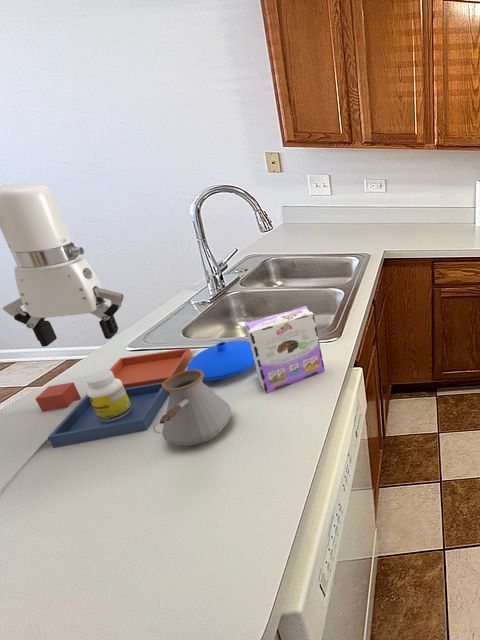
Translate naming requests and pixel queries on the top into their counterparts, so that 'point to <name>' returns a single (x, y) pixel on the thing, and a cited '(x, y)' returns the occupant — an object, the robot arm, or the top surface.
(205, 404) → the coffee pot
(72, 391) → the rust block
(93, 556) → the top surface
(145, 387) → the blue tray
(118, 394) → the supplement bottle
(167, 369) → the rust tray
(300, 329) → the candy box
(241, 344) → the blue pot lid
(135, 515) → the top surface
